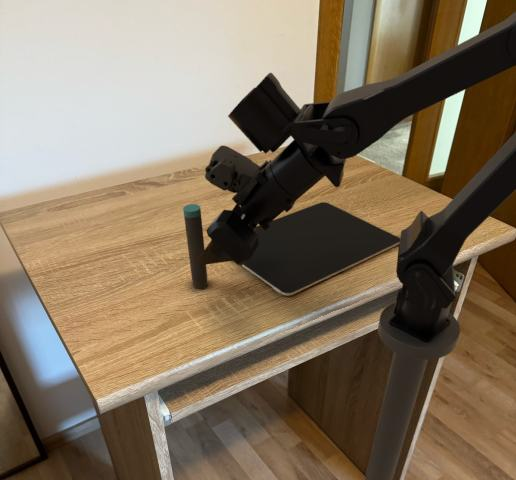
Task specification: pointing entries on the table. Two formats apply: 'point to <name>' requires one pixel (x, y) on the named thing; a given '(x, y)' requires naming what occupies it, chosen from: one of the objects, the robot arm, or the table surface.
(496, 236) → the table surface
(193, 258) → the teal capped marker
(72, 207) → the table surface
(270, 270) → the tablet
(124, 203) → the table surface
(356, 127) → the robot arm
